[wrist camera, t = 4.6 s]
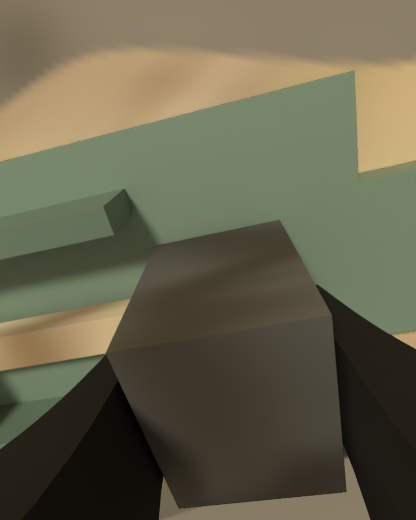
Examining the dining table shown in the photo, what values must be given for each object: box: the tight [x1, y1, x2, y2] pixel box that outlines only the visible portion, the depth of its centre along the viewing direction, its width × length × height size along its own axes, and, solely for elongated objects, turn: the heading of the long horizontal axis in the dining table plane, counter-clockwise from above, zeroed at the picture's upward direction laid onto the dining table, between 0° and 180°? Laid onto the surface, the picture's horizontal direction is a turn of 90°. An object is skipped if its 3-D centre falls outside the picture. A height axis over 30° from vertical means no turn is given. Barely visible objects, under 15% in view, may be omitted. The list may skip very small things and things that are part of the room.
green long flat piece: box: [0, 70, 416, 449], centre depth 11 cm, size 36×12×3 cm, turn 103°
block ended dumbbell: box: [0, 220, 346, 509], centre depth 9 cm, size 14×5×5 cm, turn 103°
